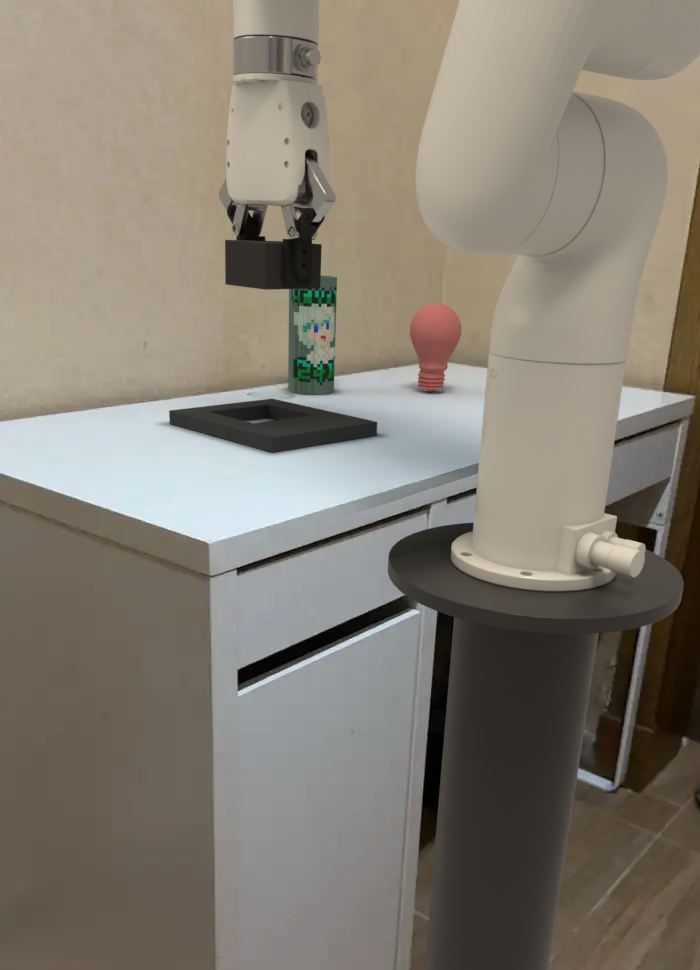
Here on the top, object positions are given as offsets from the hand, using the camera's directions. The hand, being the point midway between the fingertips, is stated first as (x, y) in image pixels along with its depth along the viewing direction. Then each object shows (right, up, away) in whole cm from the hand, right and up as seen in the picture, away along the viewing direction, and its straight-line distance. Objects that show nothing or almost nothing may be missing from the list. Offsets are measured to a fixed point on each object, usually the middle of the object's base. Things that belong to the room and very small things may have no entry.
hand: (273, 280), depth 90 cm
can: (+2, -1, +40) cm, 40 cm away
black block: (0, -1, 0) cm, 1 cm away
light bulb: (+19, -1, +43) cm, 47 cm away
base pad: (-1, -12, +14) cm, 18 cm away
